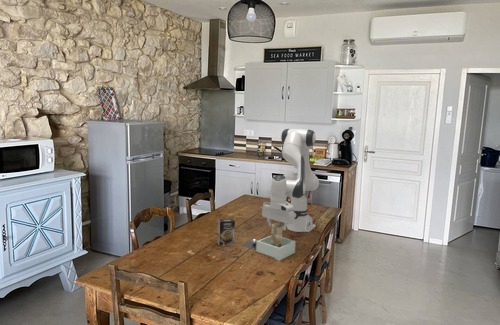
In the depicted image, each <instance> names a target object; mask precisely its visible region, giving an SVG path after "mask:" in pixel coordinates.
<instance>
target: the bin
mask: <svg viewBox="0 0 500 325" xmlns="http://www.w3.org/2000/svg"><path fill="white" fill-rule="evenodd" d="M255 251H256V252H257V253H260V254H263V255H266V256H268V257H272V259H273V260H275V261H282V260H284V259H286V258H288V257H290V256H291V255H293V254H296V240H293V239H290V238H286V237H283V236H282V247H280V248H279V247H276V246H272V245H271V235H268V236H266V237H264V238H261V239H259V240H257V246H256V250H255Z"/></svg>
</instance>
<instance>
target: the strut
mask: <svg viewBox="0 0 500 325" xmlns="http://www.w3.org/2000/svg"><path fill="white" fill-rule="evenodd" d="M283 226H284V224H282V223H279V222H275V223H272V226H271V234H270V236H271V245H272V246H276V247H279V248H280V247H282V237H283V230H282V227H283Z"/></svg>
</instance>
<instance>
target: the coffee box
mask: <svg viewBox="0 0 500 325" xmlns="http://www.w3.org/2000/svg"><path fill="white" fill-rule="evenodd" d="M217 222H218V224H217V245H218V247H232V246H235V230H236V229H235V228H236V227H235V226H236V220H235V219H234V218H233V217H231V218H230V217H229V218H218V220H217Z"/></svg>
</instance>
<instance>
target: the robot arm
mask: <svg viewBox="0 0 500 325" xmlns="http://www.w3.org/2000/svg"><path fill="white" fill-rule="evenodd" d="M280 138H281V142H282V144H283V145H282V150H281V155H282V157H283V159H284V160H285V161H286V162H288V163H289V164H291V165H293V167H294V168H295V169H297V172H286V173H284V174H283V175H281V174H279V175H278V174H277V175H274V176H273V177H272V179H271V183H270V184H271V185H270V194H271V196H270V201H269V202H268V201H264V202H263V203H262V210H261V215H262V218H266V221H267V223H268V227H272V224H273V222H272V221H277V222H280V223H283V227H282V231H286V230H288V231H291V232H295V233H298V232H299V233H310V232H311V231H313V230H314V229H315V228H316V224H315V223H313V218H312V217H311V216H310V215H309V213H308V212H310V211H311V209H310V208H308V198H307V197H306V195H305V193H306V192H307V191H308V192H309V191H310V192H311V191H316V190H317V189H318V188H319V186H320V180H319V178H318V177H317V175H315V173H314V172H313V171H312V169H311V163H310V147H311V146H313V145H314V144H315V142H316V138H317V137H316V132H315V131H314V130H313V129H306V128H286V129H284V130H283V131H282V132H281V135H280ZM287 197H289V198H290V202H288V201H287Z"/></svg>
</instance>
